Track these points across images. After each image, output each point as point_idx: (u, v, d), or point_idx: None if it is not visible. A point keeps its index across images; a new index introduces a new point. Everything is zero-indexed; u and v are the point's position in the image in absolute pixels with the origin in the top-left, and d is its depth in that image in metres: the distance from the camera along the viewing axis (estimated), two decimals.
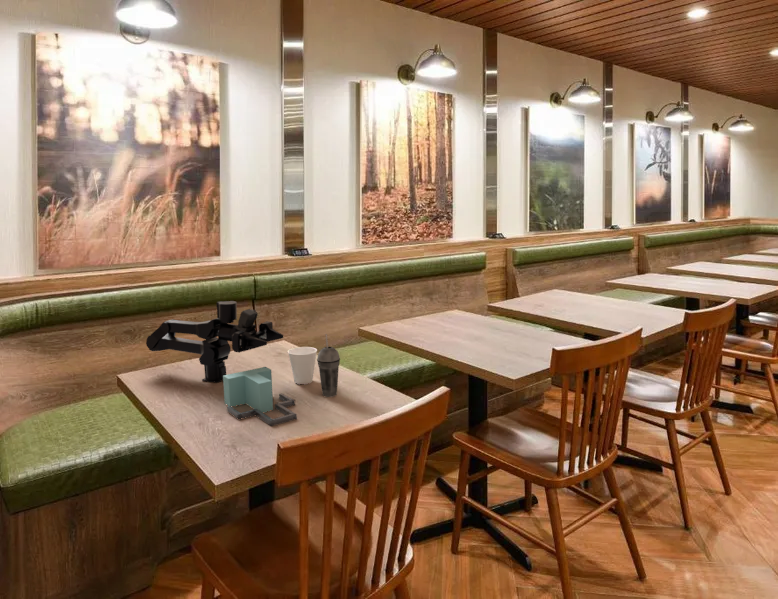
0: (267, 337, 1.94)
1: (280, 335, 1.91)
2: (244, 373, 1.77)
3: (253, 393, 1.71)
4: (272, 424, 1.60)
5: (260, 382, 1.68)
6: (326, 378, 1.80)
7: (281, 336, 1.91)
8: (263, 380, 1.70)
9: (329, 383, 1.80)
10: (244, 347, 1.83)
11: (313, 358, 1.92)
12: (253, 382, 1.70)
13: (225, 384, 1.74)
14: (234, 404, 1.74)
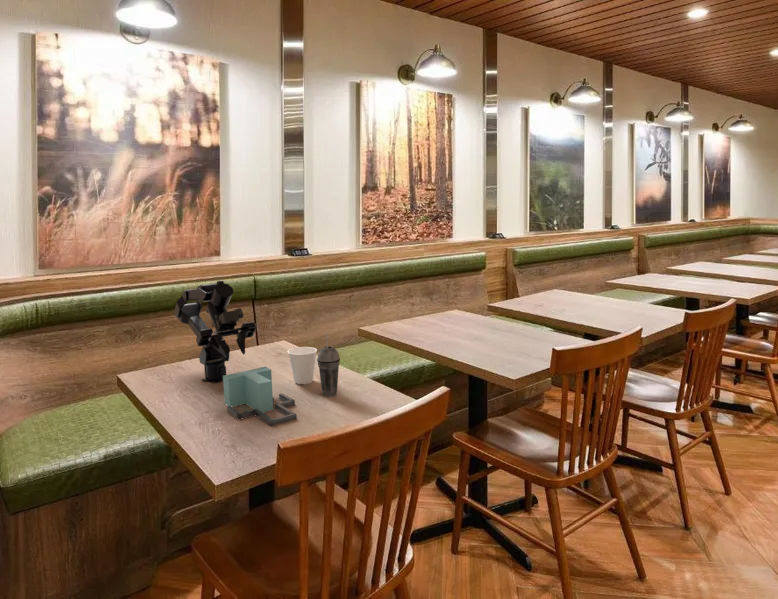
0: (237, 339, 1.89)
1: (243, 351, 1.85)
2: (244, 373, 1.77)
3: (253, 393, 1.71)
4: (272, 424, 1.60)
5: (259, 382, 1.68)
6: (326, 378, 1.80)
7: (243, 352, 1.85)
8: (263, 380, 1.70)
9: (329, 383, 1.80)
10: (211, 344, 1.83)
11: (313, 358, 1.92)
12: (253, 382, 1.70)
13: (225, 384, 1.74)
14: (234, 404, 1.74)
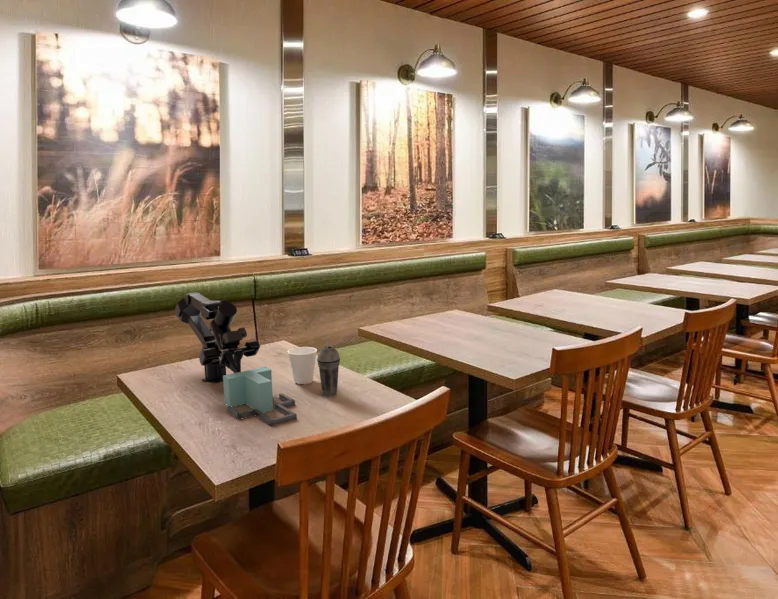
0: None
1: None
2: (244, 373, 1.77)
3: (253, 393, 1.71)
4: (272, 424, 1.60)
5: (260, 382, 1.68)
6: (326, 378, 1.80)
7: None
8: (263, 380, 1.70)
9: (329, 383, 1.80)
10: (222, 362, 1.85)
11: (313, 358, 1.92)
12: (253, 382, 1.70)
13: (225, 384, 1.74)
14: (234, 404, 1.74)
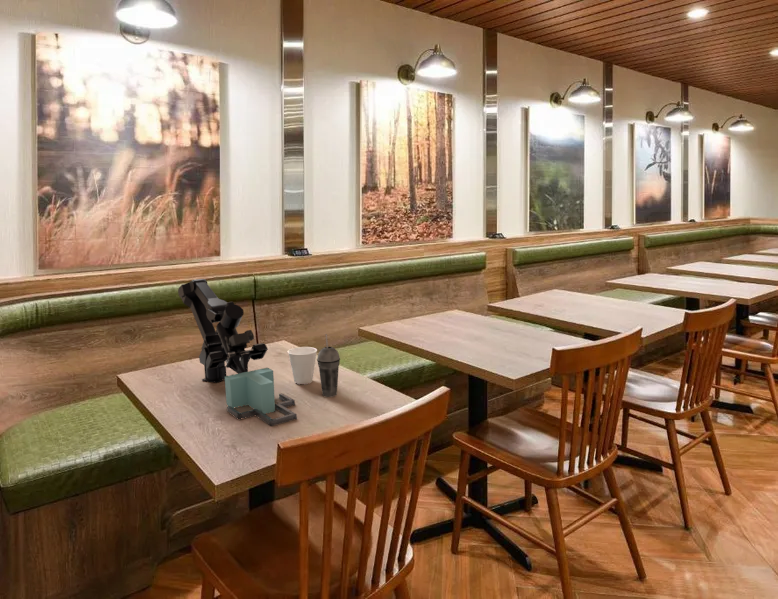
0: (240, 362, 1.83)
1: None
2: (245, 373, 1.76)
3: (255, 394, 1.70)
4: (272, 424, 1.60)
5: (261, 383, 1.67)
6: (326, 378, 1.80)
7: None
8: (265, 381, 1.68)
9: (329, 383, 1.80)
10: (229, 365, 1.81)
11: (313, 358, 1.92)
12: (255, 383, 1.69)
13: (227, 385, 1.73)
14: (236, 405, 1.73)
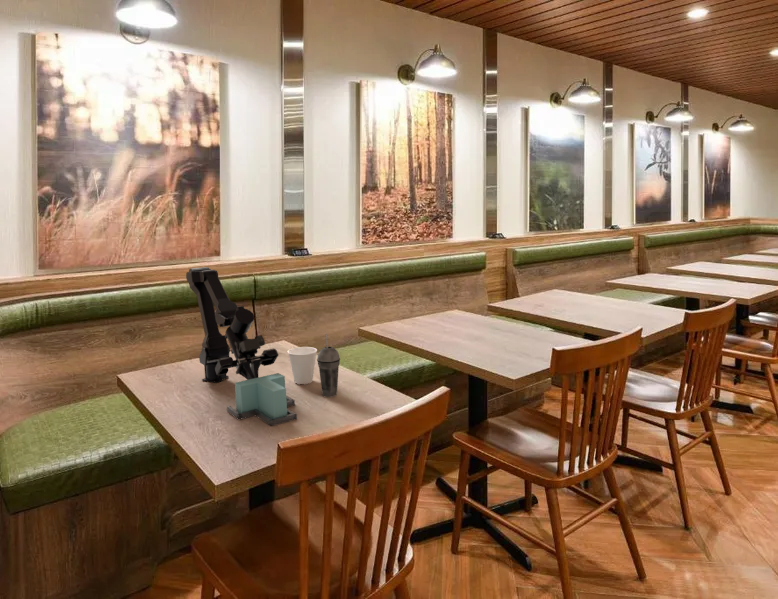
0: None
1: None
2: (256, 379, 1.70)
3: (267, 401, 1.64)
4: (272, 424, 1.60)
5: (273, 390, 1.61)
6: (326, 378, 1.80)
7: None
8: (277, 388, 1.63)
9: (329, 383, 1.80)
10: (239, 371, 1.75)
11: (313, 358, 1.92)
12: (267, 390, 1.63)
13: (237, 391, 1.67)
14: None
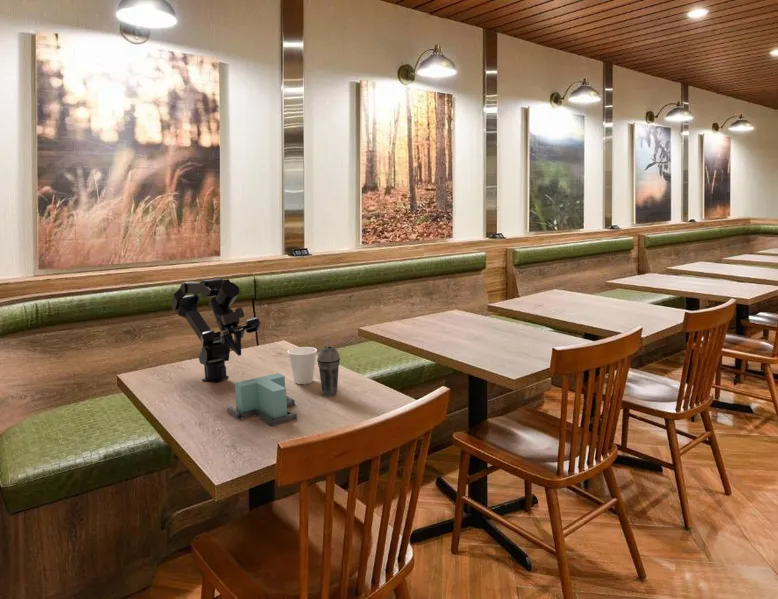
0: (234, 338, 1.87)
1: (239, 352, 1.84)
2: (256, 380, 1.70)
3: (267, 401, 1.64)
4: (272, 424, 1.60)
5: (274, 390, 1.61)
6: (326, 378, 1.80)
7: None
8: (277, 388, 1.63)
9: (329, 383, 1.80)
10: (223, 342, 1.86)
11: (313, 358, 1.92)
12: (267, 390, 1.63)
13: (237, 392, 1.67)
14: None
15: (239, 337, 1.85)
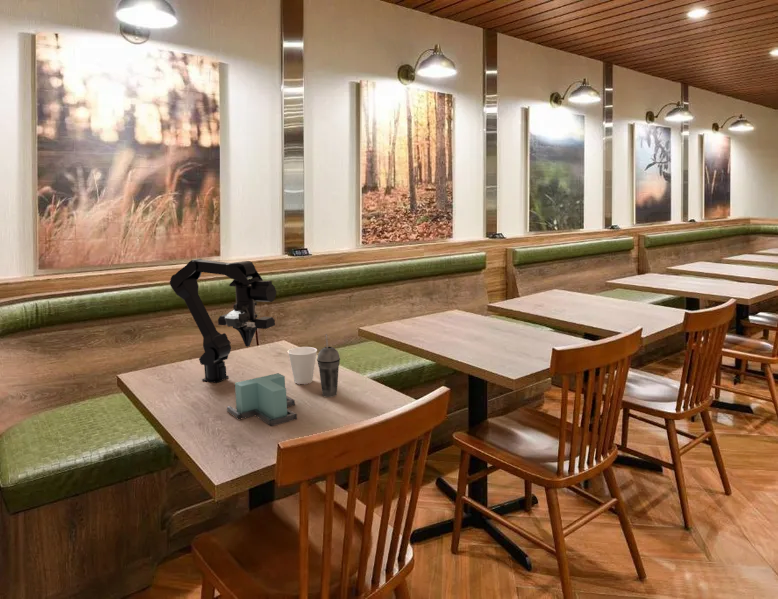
0: None
1: None
2: (256, 380, 1.70)
3: (267, 401, 1.64)
4: (272, 424, 1.60)
5: (274, 390, 1.61)
6: (326, 378, 1.80)
7: None
8: (277, 388, 1.63)
9: (329, 383, 1.80)
10: None
11: (313, 358, 1.92)
12: (267, 390, 1.63)
13: (237, 392, 1.67)
14: None
15: (248, 332, 1.89)
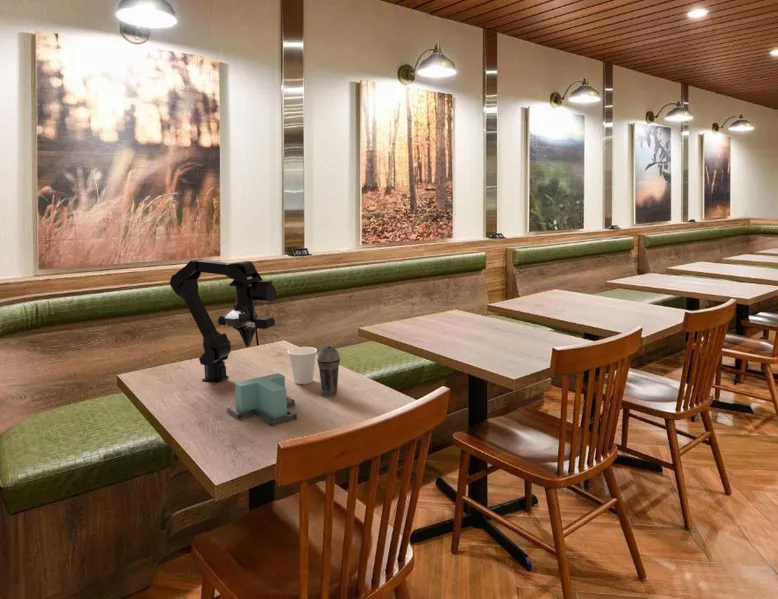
0: None
1: None
2: (256, 379, 1.70)
3: (267, 401, 1.64)
4: (272, 424, 1.60)
5: (274, 390, 1.61)
6: (326, 378, 1.80)
7: None
8: (277, 388, 1.63)
9: (329, 383, 1.80)
10: None
11: (313, 358, 1.92)
12: (267, 390, 1.63)
13: (237, 392, 1.67)
14: None
15: (248, 332, 1.89)
